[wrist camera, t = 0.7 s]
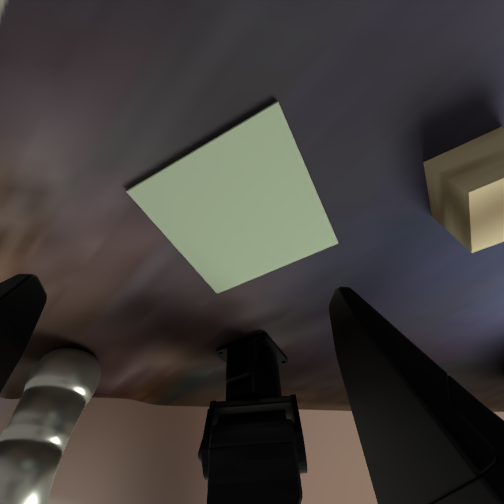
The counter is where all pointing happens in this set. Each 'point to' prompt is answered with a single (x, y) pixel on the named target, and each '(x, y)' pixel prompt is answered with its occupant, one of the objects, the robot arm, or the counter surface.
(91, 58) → the counter surface
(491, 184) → the beech block
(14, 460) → the silver ribbed metal bottle
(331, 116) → the counter surface
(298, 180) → the sage mat
